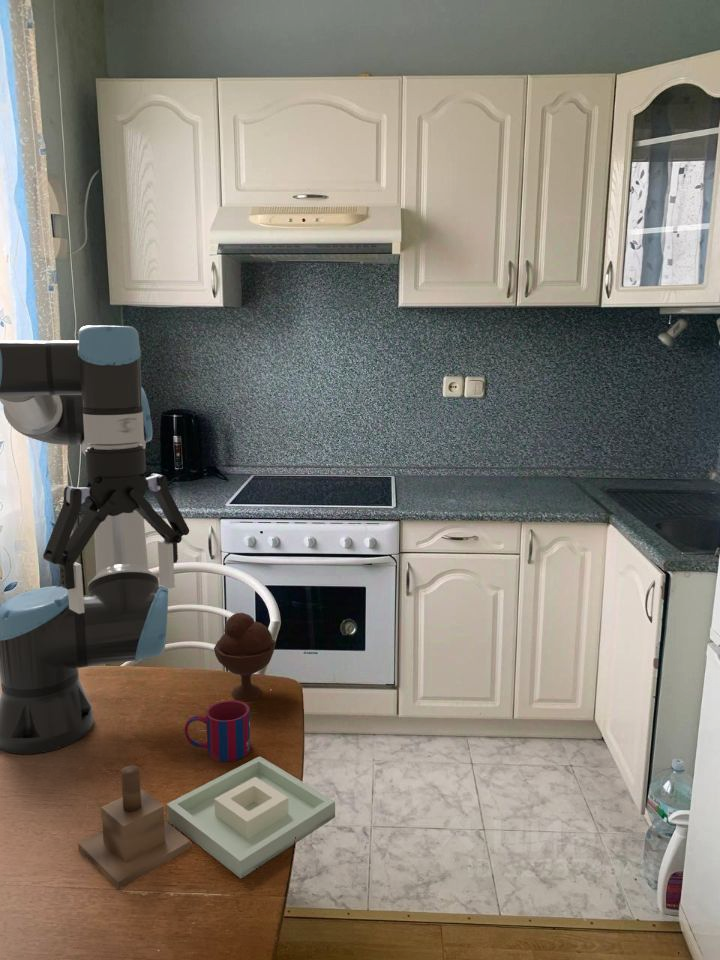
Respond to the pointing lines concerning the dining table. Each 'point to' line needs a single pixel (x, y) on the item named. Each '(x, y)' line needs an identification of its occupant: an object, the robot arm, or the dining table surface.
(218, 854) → the tray
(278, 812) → the ring
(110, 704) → the dining table surface
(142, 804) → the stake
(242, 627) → the ice cream bowl
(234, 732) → the mug
